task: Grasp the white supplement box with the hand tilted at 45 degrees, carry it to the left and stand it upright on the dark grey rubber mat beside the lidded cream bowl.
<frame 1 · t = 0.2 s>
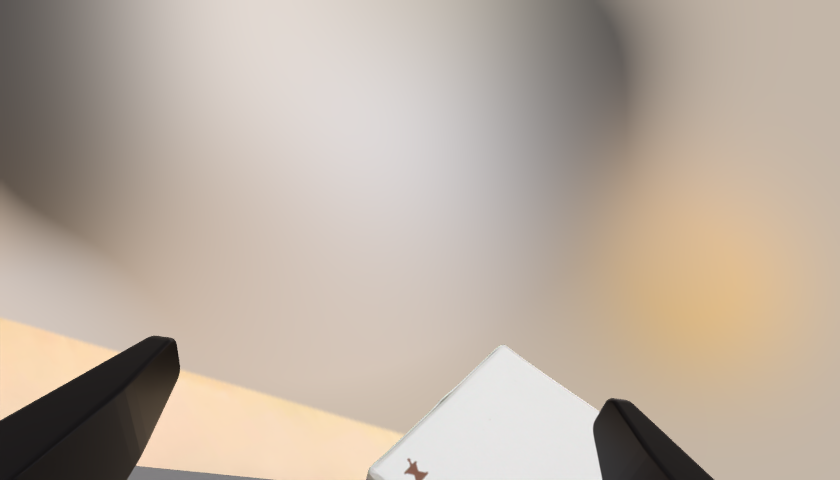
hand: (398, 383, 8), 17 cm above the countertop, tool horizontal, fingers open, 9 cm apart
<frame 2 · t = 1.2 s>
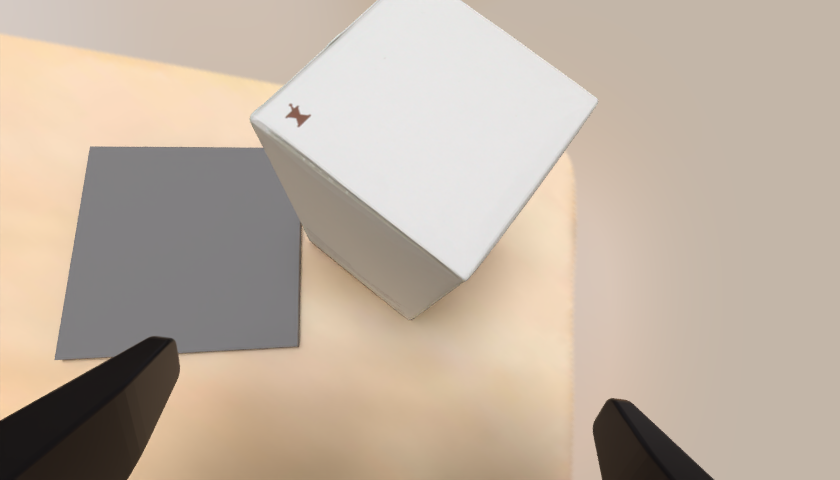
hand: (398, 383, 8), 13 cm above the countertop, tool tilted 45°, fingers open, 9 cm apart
supplement box: (399, 233, 23), on the countertop
rubber mat: (194, 245, 22), on the countertop
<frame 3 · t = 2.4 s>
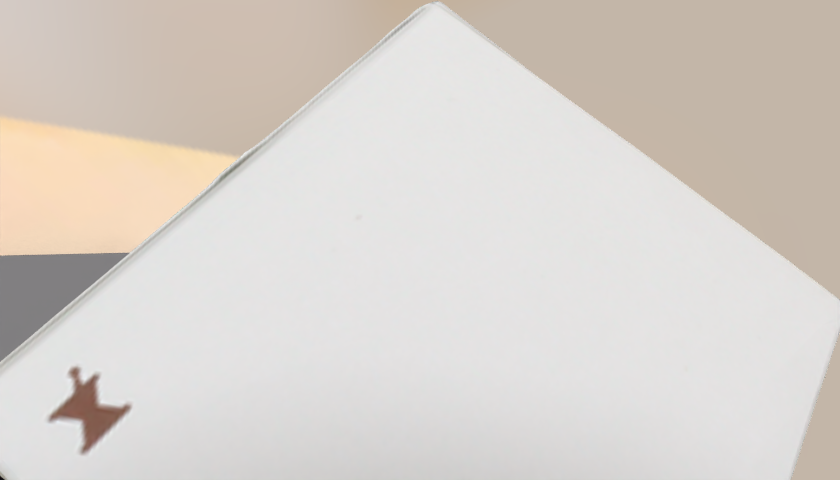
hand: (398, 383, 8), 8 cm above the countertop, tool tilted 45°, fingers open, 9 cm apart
supplement box: (388, 369, 16), on the countertop, touching gripper
rubber mat: (80, 405, 15), on the countertop
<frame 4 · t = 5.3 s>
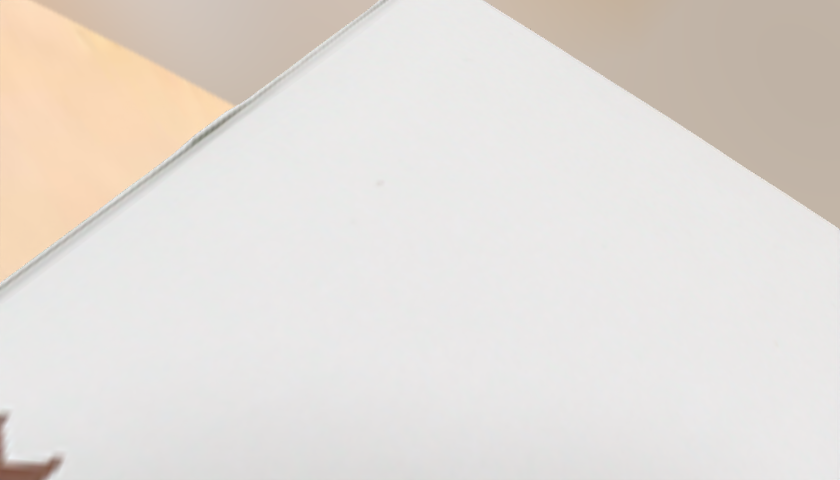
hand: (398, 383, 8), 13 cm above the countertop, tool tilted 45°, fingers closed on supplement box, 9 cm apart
supplement box: (366, 411, 15), point 6 cm above the countertop, touching gripper
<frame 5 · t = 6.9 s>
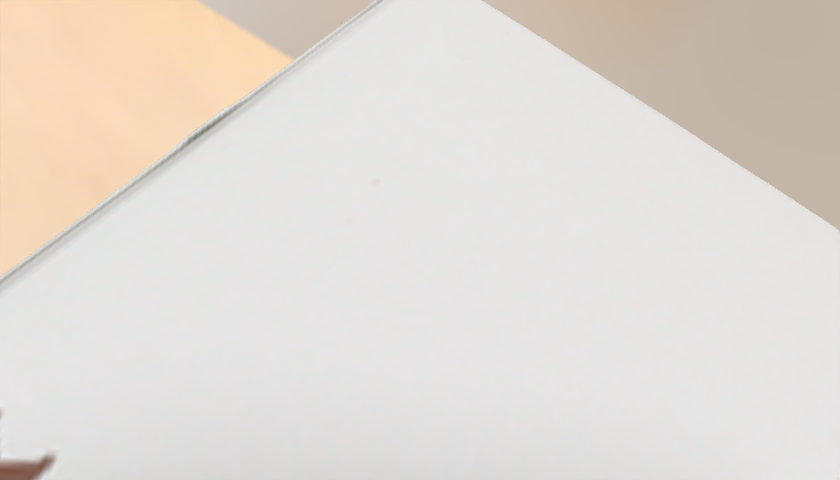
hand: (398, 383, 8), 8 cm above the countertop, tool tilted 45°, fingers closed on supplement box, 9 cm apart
supplement box: (365, 410, 15), point 1 cm above the countertop, touching gripper
when the fingers open (8 cm above the countertop, at t = 7.6 s): supplement box drops 1 cm, resting on rubber mat.
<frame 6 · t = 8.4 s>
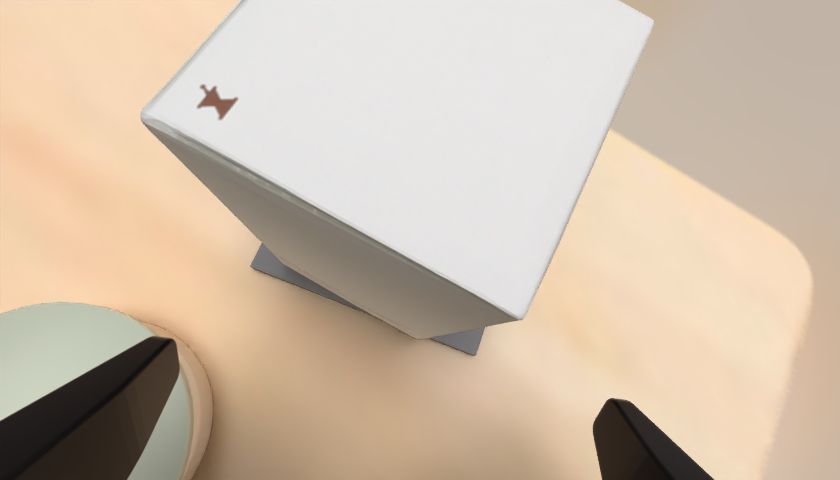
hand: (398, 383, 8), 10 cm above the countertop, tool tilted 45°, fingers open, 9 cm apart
supplement box: (390, 238, 20), resting on rubber mat
lidded bowl: (103, 425, 17), on the countertop
rubber mat: (406, 209, 20), on the countertop
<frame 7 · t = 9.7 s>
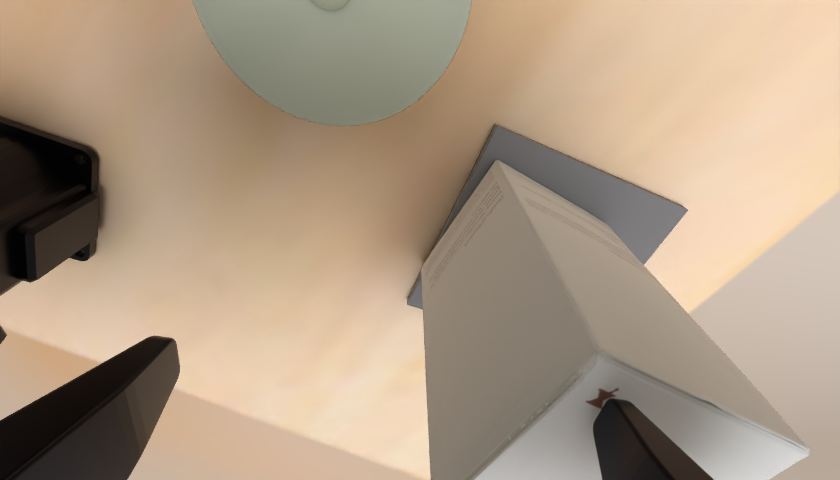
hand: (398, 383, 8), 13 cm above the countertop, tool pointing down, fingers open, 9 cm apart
supplement box: (510, 245, 22), resting on rubber mat
rubber mat: (536, 255, 22), on the countertop
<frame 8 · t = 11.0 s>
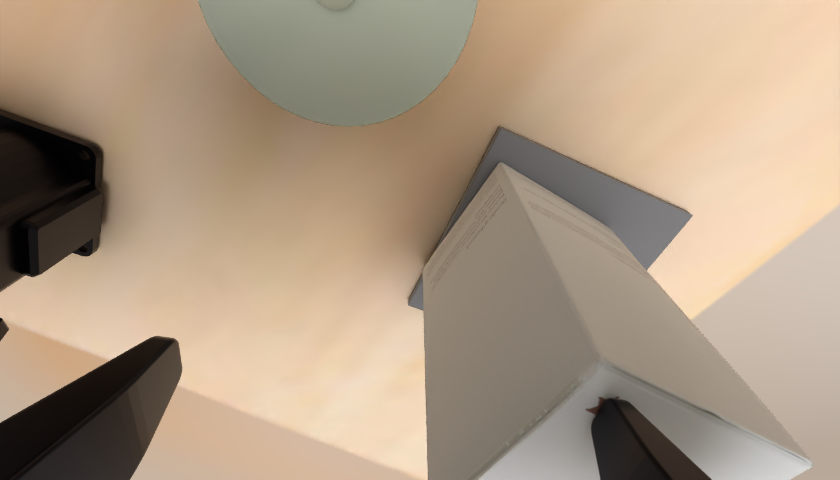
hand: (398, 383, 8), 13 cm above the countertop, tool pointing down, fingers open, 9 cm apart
supplement box: (513, 247, 22), resting on rubber mat, touching gripper
rubber mat: (539, 258, 22), on the countertop
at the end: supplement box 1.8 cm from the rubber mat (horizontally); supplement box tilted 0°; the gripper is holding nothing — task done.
